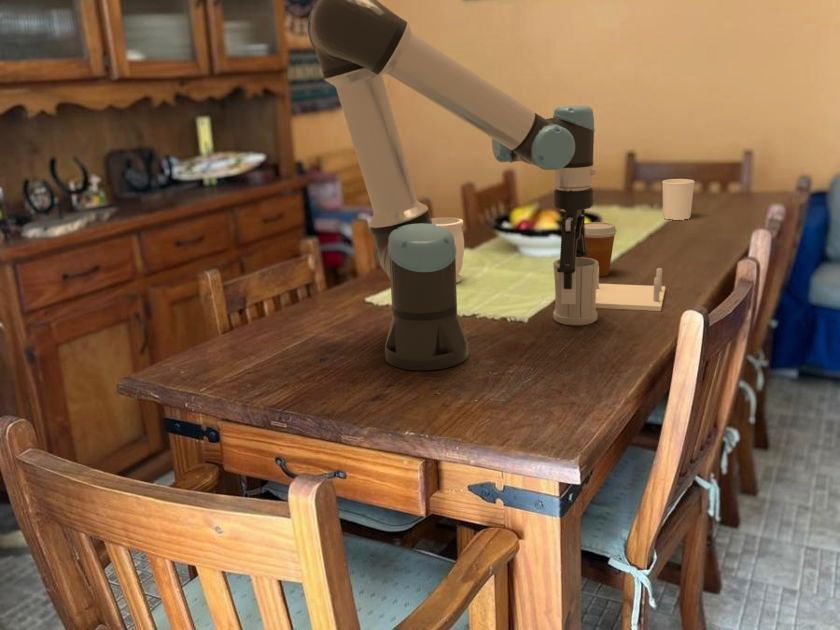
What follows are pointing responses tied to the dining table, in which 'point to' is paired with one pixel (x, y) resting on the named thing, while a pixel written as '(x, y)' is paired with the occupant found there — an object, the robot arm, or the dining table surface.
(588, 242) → the disposable coffee cup
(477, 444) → the dining table surface
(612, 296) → the beige flat pegged board
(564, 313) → the cup
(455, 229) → the jar
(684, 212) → the candle holder
